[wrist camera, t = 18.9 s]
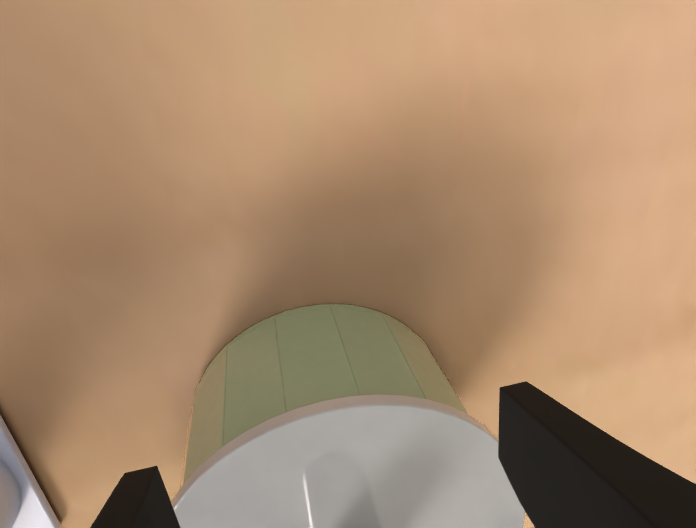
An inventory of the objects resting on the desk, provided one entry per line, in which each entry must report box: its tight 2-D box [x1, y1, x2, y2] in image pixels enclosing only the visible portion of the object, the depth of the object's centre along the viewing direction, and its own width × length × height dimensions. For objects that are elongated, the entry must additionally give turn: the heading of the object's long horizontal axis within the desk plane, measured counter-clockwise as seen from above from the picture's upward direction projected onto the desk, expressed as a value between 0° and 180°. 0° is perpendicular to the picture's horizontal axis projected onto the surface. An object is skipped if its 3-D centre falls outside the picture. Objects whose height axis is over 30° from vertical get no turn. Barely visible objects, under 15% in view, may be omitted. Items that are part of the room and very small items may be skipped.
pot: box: [180, 304, 468, 488], centre depth 19 cm, size 11×11×6 cm
